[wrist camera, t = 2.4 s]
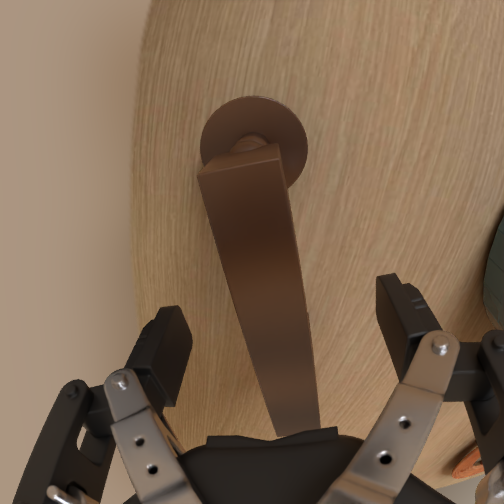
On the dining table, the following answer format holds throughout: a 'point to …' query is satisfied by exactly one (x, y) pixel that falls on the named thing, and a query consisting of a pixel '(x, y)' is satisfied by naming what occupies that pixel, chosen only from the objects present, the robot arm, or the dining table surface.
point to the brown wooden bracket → (263, 247)
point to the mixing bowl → (495, 281)
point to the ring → (468, 465)
